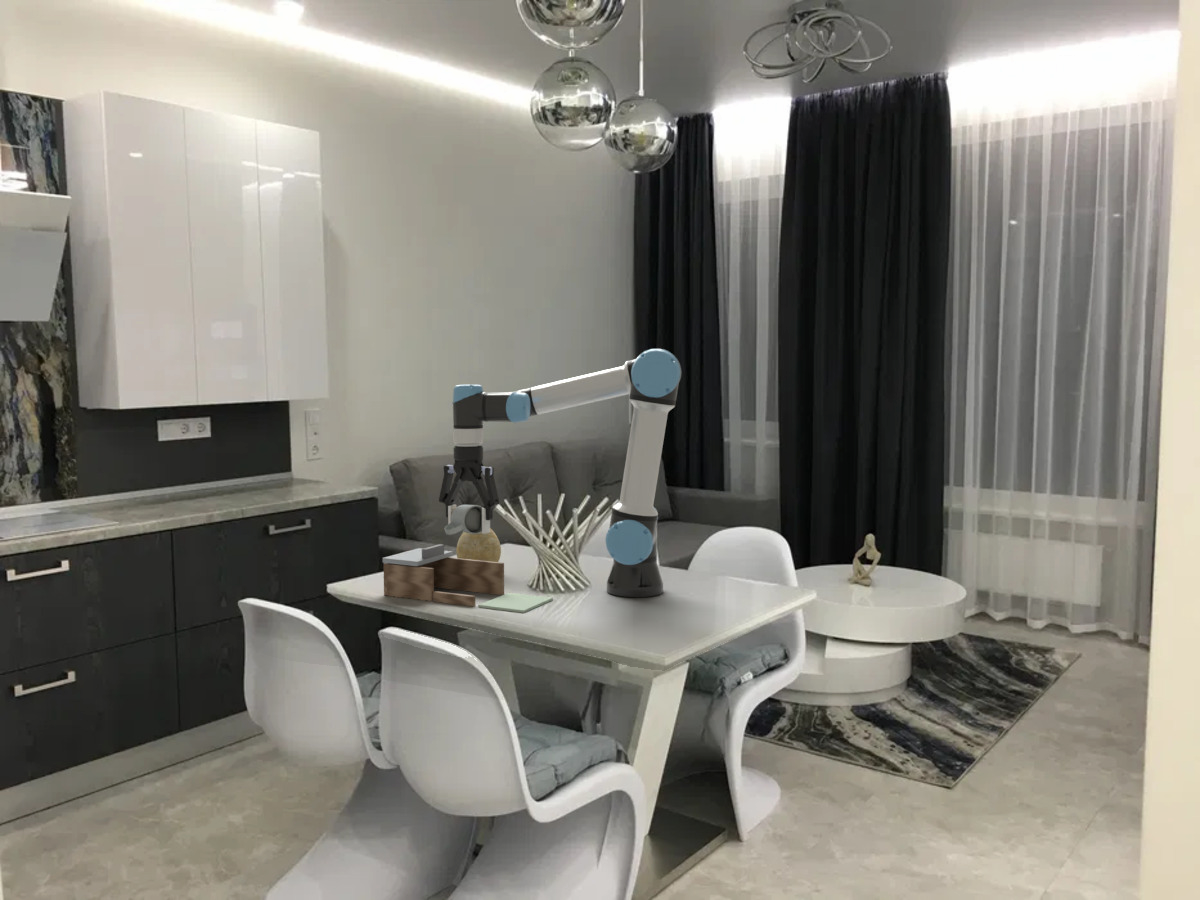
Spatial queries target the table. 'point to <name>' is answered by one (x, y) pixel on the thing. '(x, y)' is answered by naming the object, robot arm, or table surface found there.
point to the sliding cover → (419, 556)
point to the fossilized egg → (479, 547)
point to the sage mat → (515, 602)
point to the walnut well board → (444, 580)
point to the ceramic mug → (465, 520)
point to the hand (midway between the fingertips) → (469, 531)
